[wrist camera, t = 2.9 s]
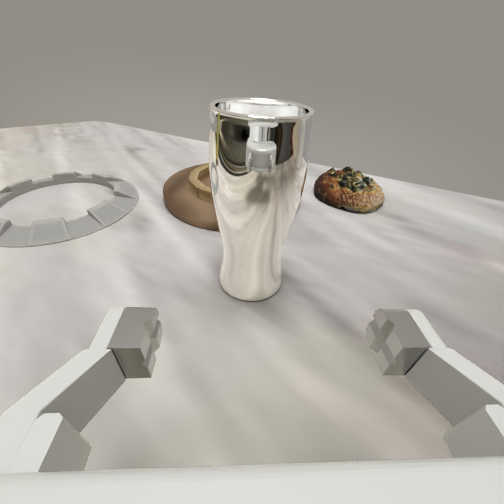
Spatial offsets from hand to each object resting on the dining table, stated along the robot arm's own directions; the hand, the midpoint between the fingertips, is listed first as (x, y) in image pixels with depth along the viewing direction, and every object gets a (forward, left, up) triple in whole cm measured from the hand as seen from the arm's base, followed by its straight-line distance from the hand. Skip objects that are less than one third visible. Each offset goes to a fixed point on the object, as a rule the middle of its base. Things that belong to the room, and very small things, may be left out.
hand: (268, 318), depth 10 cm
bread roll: (-17, -31, -10) cm, 37 cm away
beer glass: (0, -12, -10) cm, 16 cm away
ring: (+25, -26, -11) cm, 38 cm away
